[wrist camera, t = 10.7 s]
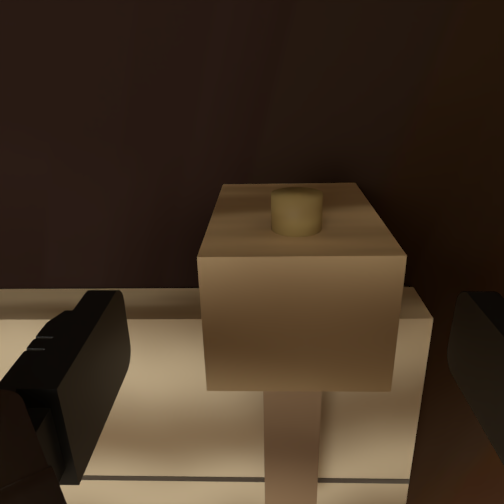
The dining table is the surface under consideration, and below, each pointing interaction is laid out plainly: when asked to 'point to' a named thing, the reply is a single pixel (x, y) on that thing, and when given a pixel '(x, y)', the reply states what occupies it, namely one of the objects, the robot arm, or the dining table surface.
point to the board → (223, 411)
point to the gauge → (298, 311)
